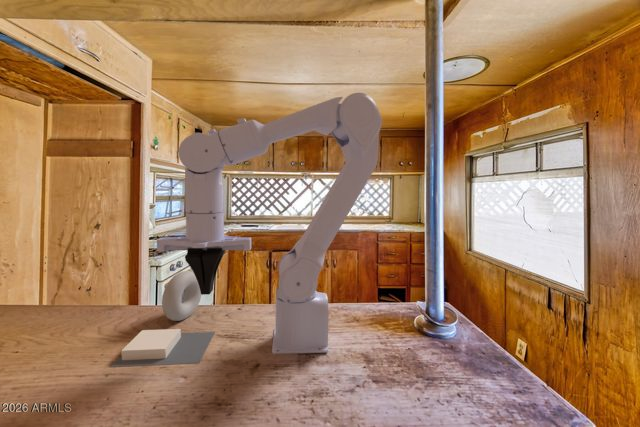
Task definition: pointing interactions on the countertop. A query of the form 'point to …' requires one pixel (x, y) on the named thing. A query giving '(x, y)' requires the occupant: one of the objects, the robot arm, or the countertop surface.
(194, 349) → the mat
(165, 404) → the countertop surface
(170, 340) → the tile
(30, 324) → the countertop surface
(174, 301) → the donut
